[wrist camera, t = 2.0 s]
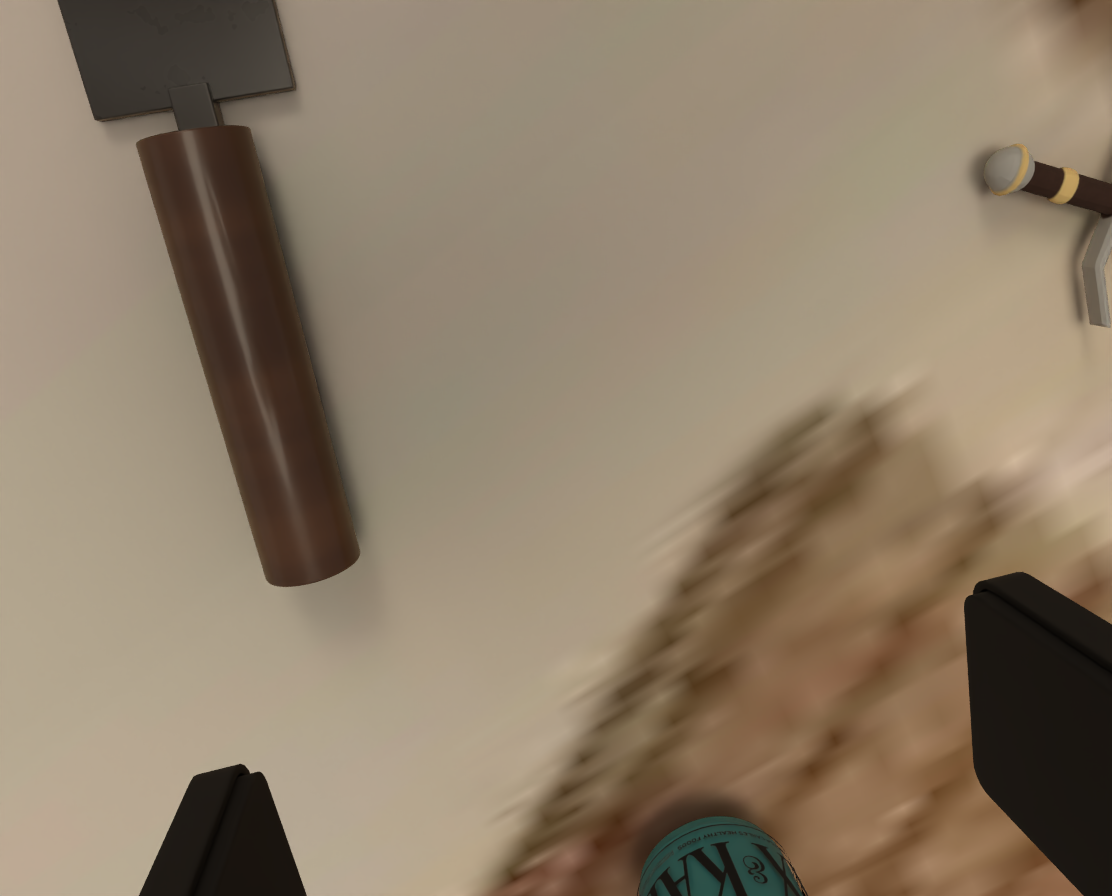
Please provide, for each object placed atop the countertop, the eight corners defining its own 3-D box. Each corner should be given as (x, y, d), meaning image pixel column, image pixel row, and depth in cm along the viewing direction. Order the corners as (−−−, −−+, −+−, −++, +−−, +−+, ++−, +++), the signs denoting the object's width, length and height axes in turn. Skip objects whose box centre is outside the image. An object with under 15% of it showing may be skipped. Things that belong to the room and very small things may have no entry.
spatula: (6, -182, 23) (-61, -241, 20) (223, -212, 24) (190, -275, 21) (237, 564, 30) (213, 604, 27) (403, 530, 30) (397, 566, 27)
